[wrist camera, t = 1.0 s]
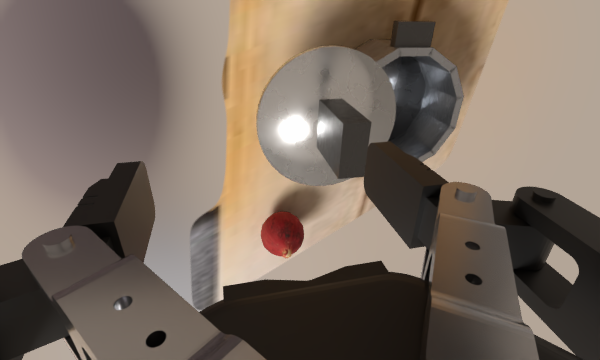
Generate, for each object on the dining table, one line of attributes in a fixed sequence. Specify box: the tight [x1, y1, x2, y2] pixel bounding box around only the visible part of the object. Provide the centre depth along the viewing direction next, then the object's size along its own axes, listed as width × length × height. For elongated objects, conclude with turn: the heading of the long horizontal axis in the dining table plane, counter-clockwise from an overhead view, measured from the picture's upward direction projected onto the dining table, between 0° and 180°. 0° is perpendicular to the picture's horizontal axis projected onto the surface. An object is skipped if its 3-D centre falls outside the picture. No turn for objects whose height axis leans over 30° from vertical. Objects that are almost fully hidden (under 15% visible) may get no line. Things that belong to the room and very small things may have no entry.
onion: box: [261, 211, 304, 258], centre depth 44 cm, size 6×6×8 cm
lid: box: [256, 45, 396, 186], centre depth 31 cm, size 15×15×8 cm
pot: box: [354, 21, 464, 162], centre depth 39 cm, size 19×14×7 cm
